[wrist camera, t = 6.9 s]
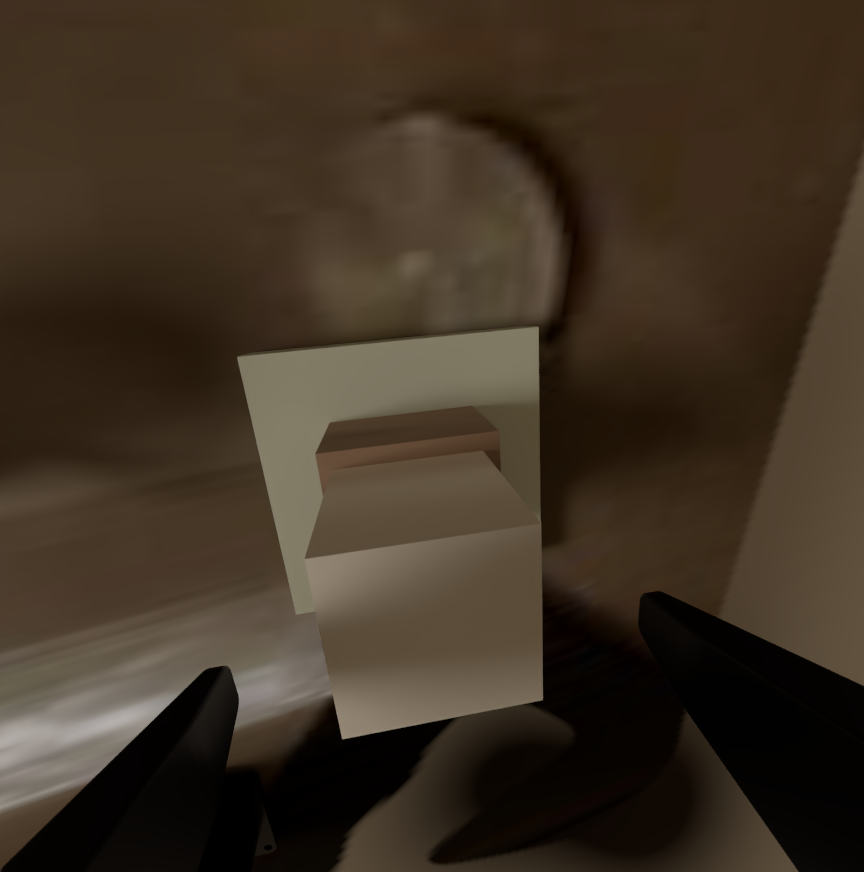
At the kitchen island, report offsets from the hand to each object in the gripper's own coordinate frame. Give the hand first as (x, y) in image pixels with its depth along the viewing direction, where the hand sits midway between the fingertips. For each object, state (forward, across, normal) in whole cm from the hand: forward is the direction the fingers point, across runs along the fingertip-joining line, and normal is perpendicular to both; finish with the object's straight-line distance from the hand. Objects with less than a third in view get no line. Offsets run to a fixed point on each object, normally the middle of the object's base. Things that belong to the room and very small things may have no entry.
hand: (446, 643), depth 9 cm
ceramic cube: (+5, 0, 0) cm, 5 cm away
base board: (+11, 0, 0) cm, 11 cm away
